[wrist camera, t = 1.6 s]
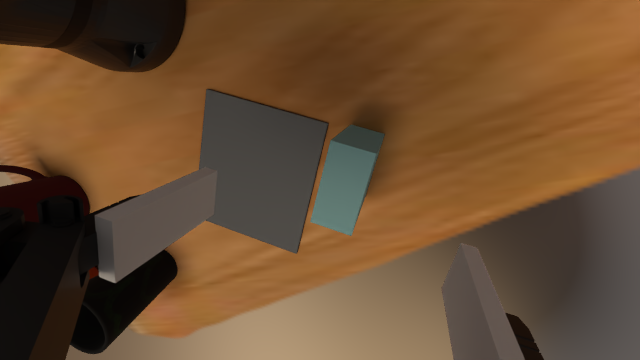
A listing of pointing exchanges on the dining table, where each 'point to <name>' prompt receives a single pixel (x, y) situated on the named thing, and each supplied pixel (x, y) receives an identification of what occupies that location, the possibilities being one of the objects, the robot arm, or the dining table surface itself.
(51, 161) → the dining table surface
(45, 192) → the mug
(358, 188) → the card box
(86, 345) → the cup
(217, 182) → the mat
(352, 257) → the dining table surface
